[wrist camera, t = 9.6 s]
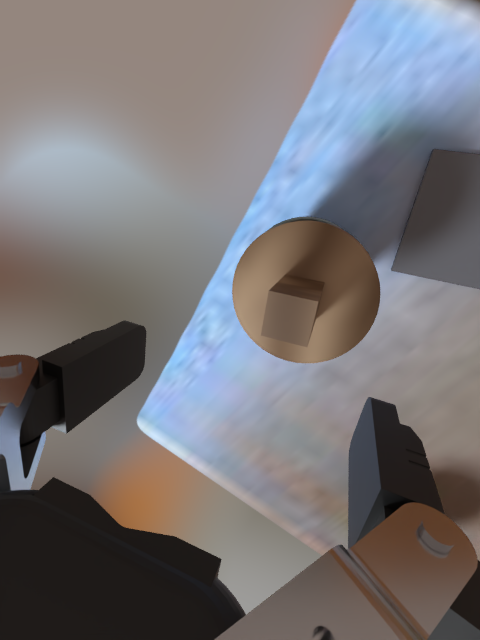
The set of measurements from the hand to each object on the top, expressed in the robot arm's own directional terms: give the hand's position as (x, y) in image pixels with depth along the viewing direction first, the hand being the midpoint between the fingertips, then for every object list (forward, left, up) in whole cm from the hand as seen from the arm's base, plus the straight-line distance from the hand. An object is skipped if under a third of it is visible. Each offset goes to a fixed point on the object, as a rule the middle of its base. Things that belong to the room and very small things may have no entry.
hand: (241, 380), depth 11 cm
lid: (0, +1, -17) cm, 17 cm away
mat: (-14, -7, -29) cm, 33 cm away
